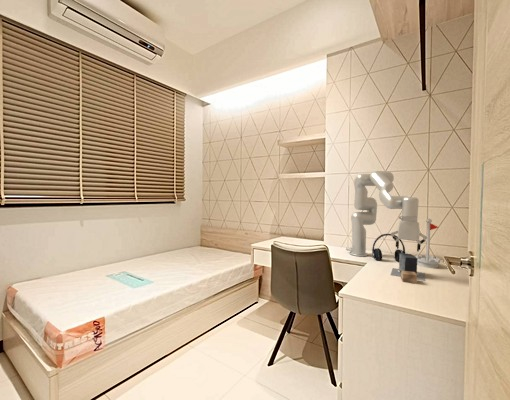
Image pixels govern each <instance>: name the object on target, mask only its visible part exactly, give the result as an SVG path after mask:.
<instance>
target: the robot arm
mask: <svg viewBox="0 0 510 400" xmlns="http://www.w3.org/2000/svg"><path fill="white" fill-rule="evenodd" d="M394 179H395V178H394V174H393V173H392V172H391V171H387V170H375V171H372V172H371V173H360V174H357V175H356V176H355V178H354V180H353V181H354V182H353V186H354V203H353V204H354V210H357V211H356V212H353V213H352V214H351V215H350V220H351V229H352V230H351V247H345V251H349V255H351V256H356V257H368V256H369V254H368V252H366V250H367V248H366V247H367V246H366V245H367V230H366V228H365V226H367V225H370V226H371V225H374V224H375V223H376V221H377V212H378V211H377V209H378V203H377V200H376V198H374V197H369V196H368V193H369V192H368V189H367V187H376V188H377V190H379V192H378V196H379V197H378V198H379V201H380V202H381V203H382V204H383V206H384V207H385V208H387V209H390V210H401V215H400V216H398V220H400V221H399V222H398V228H397V230H396V231H393V232H391V233H390V234H391V235H392V236H391V237H392V239H393V240H394V241H395V248H396V250H397V249H399V248H400V247H399V246H400V241H399V240H400V239H401V240H406V241H414V242H417V245H416V246H417V247H416V251H417V252H420V250H421V245H422V244H423V243H425V242H426V241H427V235H424V234H422V233H421V232H420V222H418V219H419V218H418V214H419V202H420V201H419V198H418V197H412V196H407V195H405V196H404V195H391V194H390V192H391V191H392V190H393V189H394V183H393V182H394ZM394 235H397V237H398V238H396V237H395V236H394ZM420 237H421V238H422V239H420Z"/></svg>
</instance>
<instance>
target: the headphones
mask: <svg viewBox="0 0 510 400" xmlns="http://www.w3.org/2000/svg"><path fill="white" fill-rule="evenodd" d="M386 236H388V237H389V236H391V237H392V235H391V233H382V234H380V235H379V236H377V238H375V240H374V242H373V244H372V247H371V249H372V251H371V253H372V254H371V255H372V258H373V259H374V260H375V261H383V253H382V250H381V249H380V248H378V247H377V248H375V246H376V243H377V241H378V240H379V239H381V238H382V237H386ZM394 236H395V237H396V238H398V235H397V234H394ZM399 243H401V245H402V249H399V248H398V249H397V248H396V249H395V251H394V261H396V262H399V259H400V253H406V248H405V245H404V244H405V243H404V241H402V239H400V240H399Z"/></svg>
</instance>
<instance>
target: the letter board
mask: <svg viewBox="0 0 510 400" xmlns="http://www.w3.org/2000/svg"><path fill="white" fill-rule="evenodd" d="M390 276H392V277H399V278H401V272H400V271H399V268H395V267H392V269H391V272H390ZM417 281H422V282H426V274H425V272H421V271H417Z"/></svg>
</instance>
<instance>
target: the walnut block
mask: <svg viewBox="0 0 510 400" xmlns="http://www.w3.org/2000/svg"><path fill="white" fill-rule="evenodd" d="M400 280H401V281H402V282H403V283H407V284H415V285H417V284H418V283H417V282H418V280H417V275H416V273H415V272H411V271H402V270H401V277H400Z"/></svg>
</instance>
